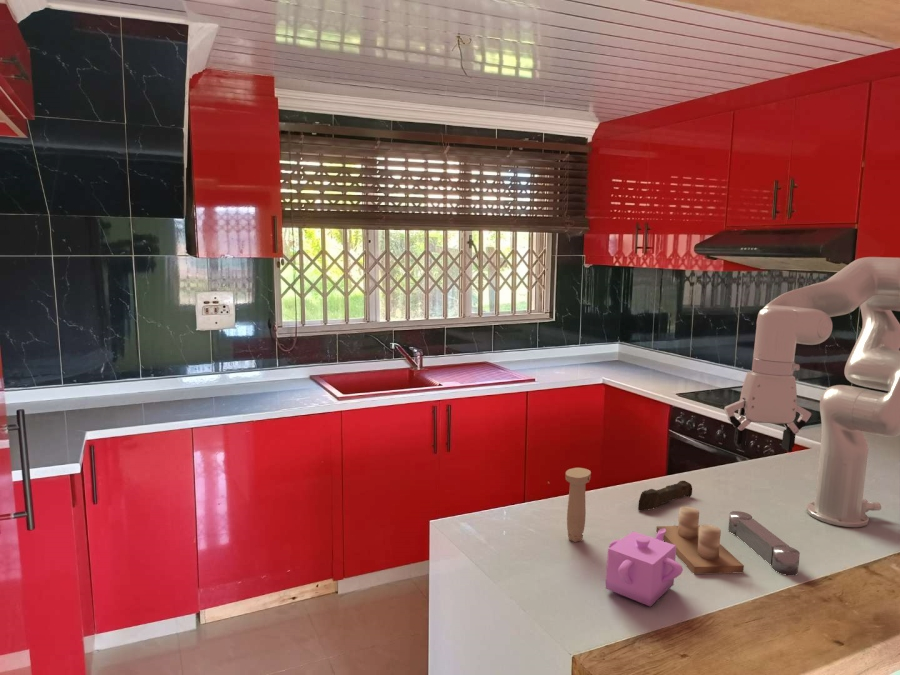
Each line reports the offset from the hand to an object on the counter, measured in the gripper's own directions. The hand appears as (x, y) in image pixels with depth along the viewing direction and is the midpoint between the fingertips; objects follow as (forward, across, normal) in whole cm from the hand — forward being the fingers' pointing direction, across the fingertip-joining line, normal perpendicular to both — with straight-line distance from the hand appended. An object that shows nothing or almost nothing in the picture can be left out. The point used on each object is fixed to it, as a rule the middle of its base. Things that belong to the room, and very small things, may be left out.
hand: (763, 448), depth 133 cm
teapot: (+23, +28, +19) cm, 41 cm away
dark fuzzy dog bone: (+22, +12, -22) cm, 33 cm away
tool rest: (+22, +13, +3) cm, 26 cm away
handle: (+23, +37, -1) cm, 44 cm away
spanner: (+22, -1, +1) cm, 22 cm away
